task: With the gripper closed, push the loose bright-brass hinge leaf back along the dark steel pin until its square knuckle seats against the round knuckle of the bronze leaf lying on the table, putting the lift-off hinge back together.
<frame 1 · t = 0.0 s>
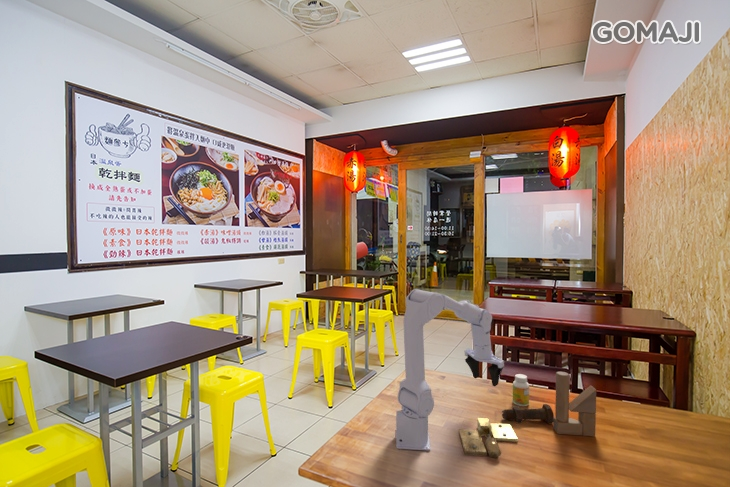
hand: (485, 381, 123), 11 cm above the table, tool pointing down, fingers open, 7 cm apart
bolt: (526, 421, 118), on the table
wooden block: (573, 433, 111), on the table
supplement bottle: (520, 403, 130), on the table
fixed leaf: (489, 444, 105), on the table
loose leaf: (496, 428, 110), point 2 cm above the table, slide at 6.0 cm
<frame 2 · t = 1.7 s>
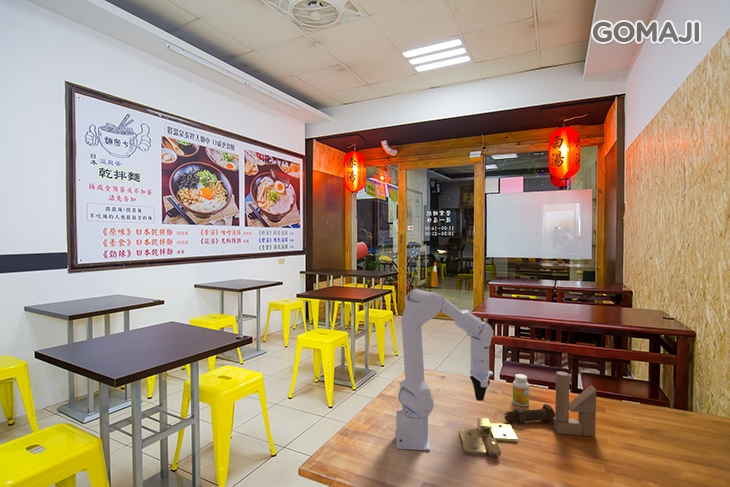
hand: (479, 399, 118), 7 cm above the table, tool pointing down, fingers closed
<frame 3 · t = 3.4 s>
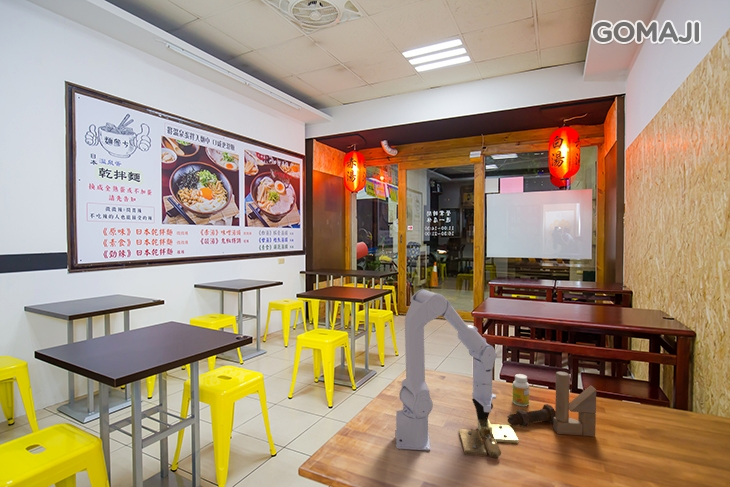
hand: (482, 423, 114), 1 cm above the table, tool pointing down, fingers closed
loose leaf: (496, 429, 109), point 2 cm above the table, slide at 5.4 cm, touching gripper
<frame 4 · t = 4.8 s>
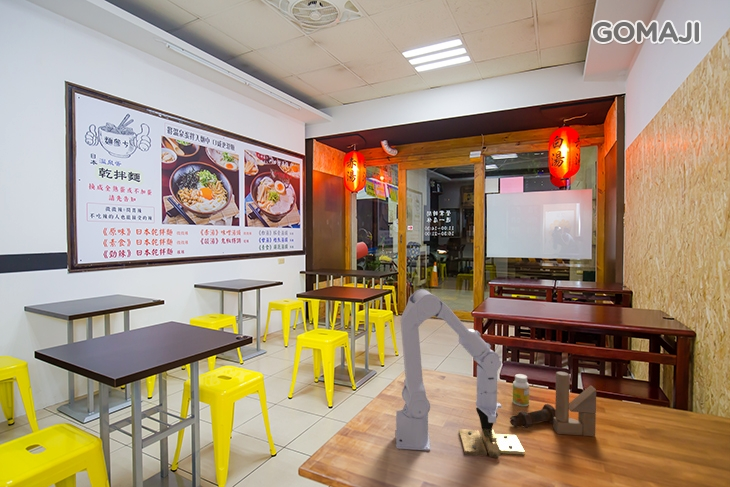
hand: (486, 434, 108), 1 cm above the table, tool pointing down, fingers closed
loose leaf: (501, 439, 104), point 2 cm above the table, slide at -0.1 cm, touching gripper
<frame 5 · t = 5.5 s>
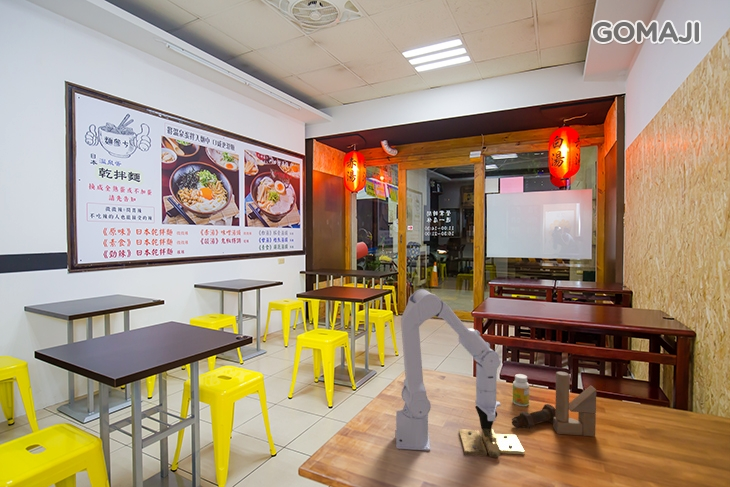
hand: (485, 432, 109), 1 cm above the table, tool pointing down, fingers closed
loose leaf: (501, 439, 104), point 2 cm above the table, slide at 0.0 cm
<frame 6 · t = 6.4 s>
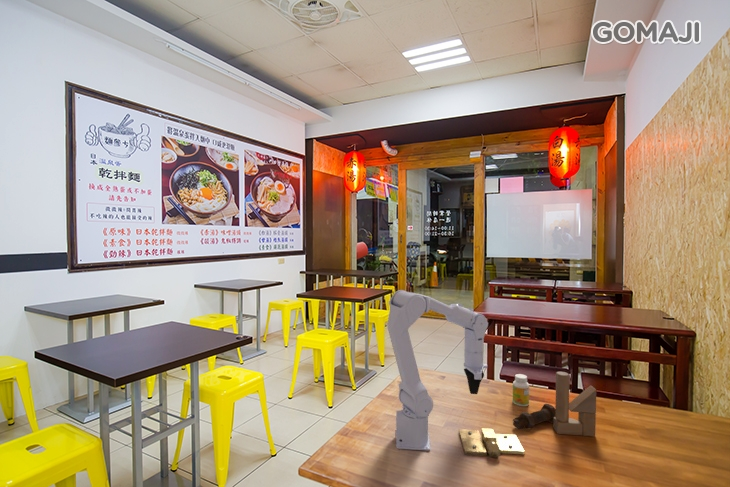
hand: (473, 393, 114), 10 cm above the table, tool pointing down, fingers closed
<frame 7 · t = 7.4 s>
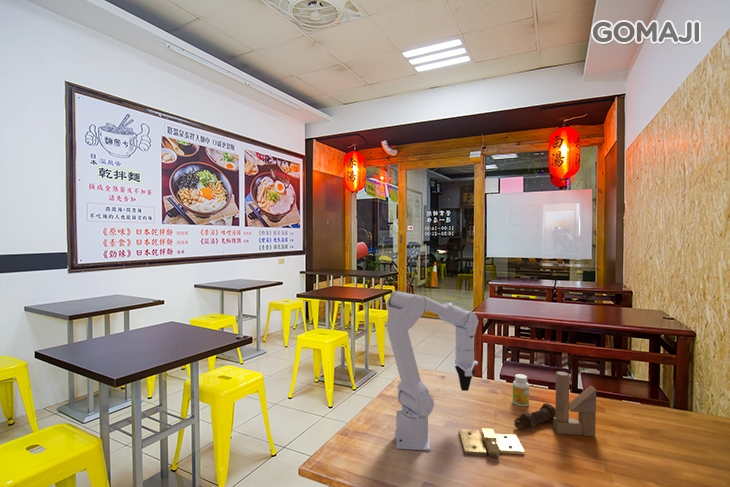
hand: (464, 389, 117), 10 cm above the table, tool pointing down, fingers closed
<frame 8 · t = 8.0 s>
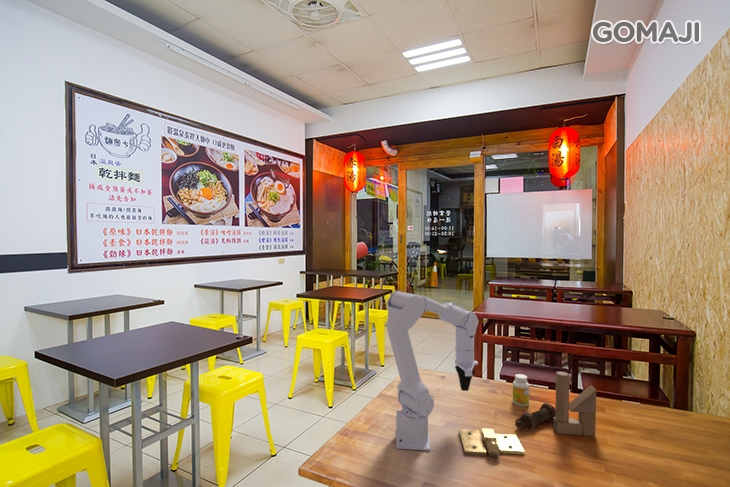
hand: (464, 389, 117), 10 cm above the table, tool pointing down, fingers closed
at the end: loose leaf slide at 0.0 cm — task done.
